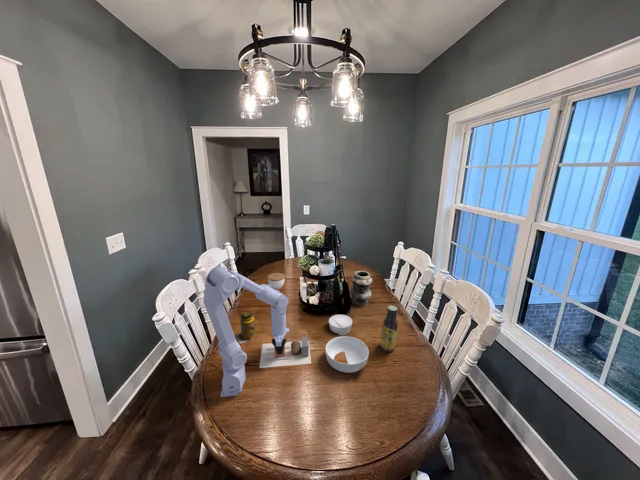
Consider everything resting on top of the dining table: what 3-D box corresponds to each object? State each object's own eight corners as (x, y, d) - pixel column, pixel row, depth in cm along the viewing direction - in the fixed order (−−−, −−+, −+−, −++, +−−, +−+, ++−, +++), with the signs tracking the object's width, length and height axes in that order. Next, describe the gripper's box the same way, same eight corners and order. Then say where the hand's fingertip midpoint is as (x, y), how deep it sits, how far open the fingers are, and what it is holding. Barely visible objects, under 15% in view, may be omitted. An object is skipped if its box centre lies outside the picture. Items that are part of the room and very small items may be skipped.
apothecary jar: (371, 308, 143) (373, 278, 139) (349, 306, 145) (350, 277, 140) (370, 297, 155) (372, 270, 150) (350, 296, 157) (351, 268, 152)
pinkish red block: (284, 356, 104) (284, 343, 103) (274, 357, 104) (274, 344, 102) (284, 349, 108) (284, 337, 106) (275, 350, 108) (274, 338, 106)
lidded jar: (266, 285, 170) (265, 272, 168) (282, 282, 175) (281, 269, 172) (270, 292, 161) (270, 278, 159) (287, 288, 165) (286, 275, 163)
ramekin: (324, 333, 122) (324, 323, 120) (334, 321, 131) (334, 312, 130) (346, 340, 117) (347, 330, 115) (355, 327, 126) (355, 317, 125)
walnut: (301, 355, 105) (300, 347, 104) (291, 356, 105) (291, 347, 104) (300, 348, 109) (300, 340, 108) (291, 349, 108) (290, 341, 107)
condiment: (258, 337, 118) (256, 314, 115) (239, 344, 114) (237, 320, 110) (252, 329, 124) (251, 307, 121) (235, 335, 120) (232, 312, 116)
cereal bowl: (373, 358, 106) (374, 344, 104) (358, 387, 92) (359, 371, 90) (336, 344, 114) (337, 330, 112) (317, 369, 100) (317, 353, 98)
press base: (311, 366, 101) (311, 352, 99) (259, 371, 99) (258, 357, 97) (308, 343, 115) (308, 330, 113) (262, 346, 112) (261, 333, 110)
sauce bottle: (377, 347, 112) (380, 306, 107) (385, 341, 116) (389, 301, 111) (389, 355, 108) (393, 313, 102) (398, 348, 112) (402, 308, 106)
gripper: (289, 331, 95) (289, 361, 99) (288, 310, 109) (289, 337, 113) (269, 332, 94) (271, 363, 98) (271, 311, 108) (273, 339, 112)
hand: (279, 349), depth 105 cm, fingers closed on pinkish red block, 4 cm apart
